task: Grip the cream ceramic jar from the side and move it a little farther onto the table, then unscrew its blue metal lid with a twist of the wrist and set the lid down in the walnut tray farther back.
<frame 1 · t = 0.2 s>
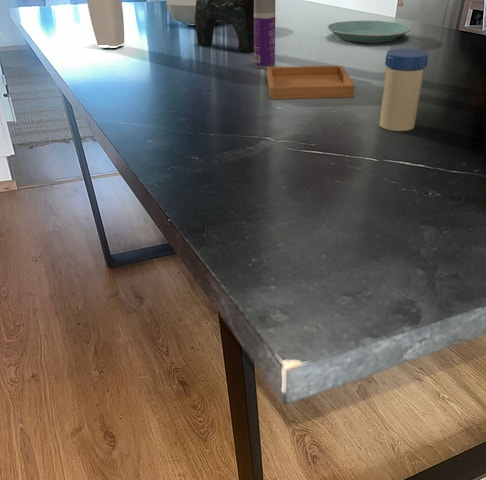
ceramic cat: (227, 49, 136), on the table
cup: (111, 48, 141), on the table
lid: (407, 55, 79), point 11 cm above the table, screwed on, not yet turned
serving bowl: (201, 24, 167), on the table
tray: (307, 86, 105), on the table
jar: (396, 125, 85), on the table
plate: (367, 38, 143), on the table
container: (264, 67, 120), on the table
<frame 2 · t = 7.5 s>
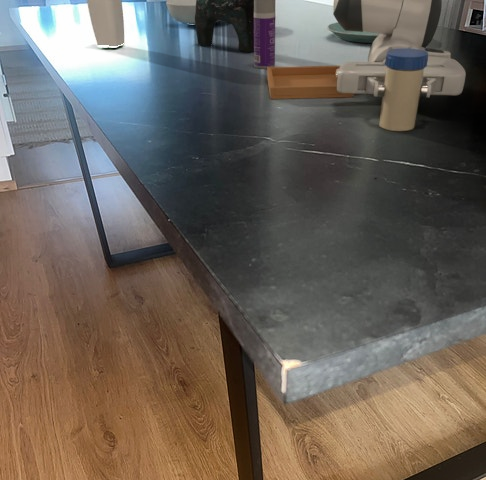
hand: (402, 91, 81), 6 cm above the table, tool horizontal, fingers closed on jar, 5 cm apart
jar: (396, 125, 85), on the table, touching gripper
everything else where it was.
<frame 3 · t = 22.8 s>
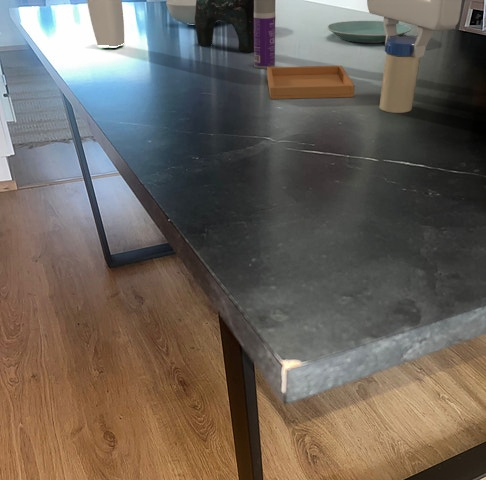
hand: (403, 51, 87), 9 cm above the table, tool pointing down, fingers closed on lid, 6 cm apart
lid: (405, 42, 86), point 11 cm above the table, screwed on, not yet turned, touching gripper
jar: (395, 107, 93), on the table
everything else where it was.
when the fingers open (2 cm above the table, at t = 45.9 s): lid drops 1 cm, resting on tray.
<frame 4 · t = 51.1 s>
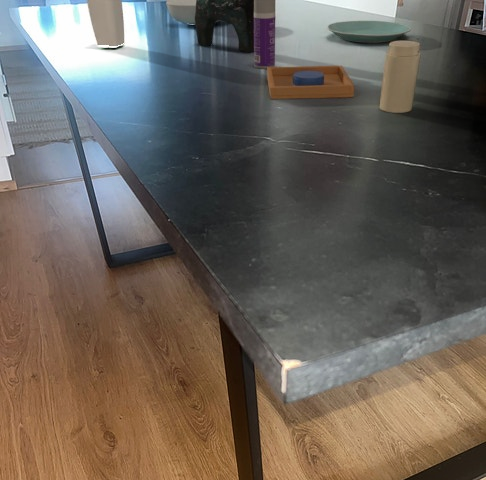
lid: (308, 76, 104), point 2 cm above the table, off its thread, touching tray
everything else where it was.
at the end: lid inside the target area in the tray (0.1 cm from its centre), point 2.0 cm above the tray's base; the gripper is holding nothing; jar inside the target area (0.1 cm from its centre), on the table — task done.
